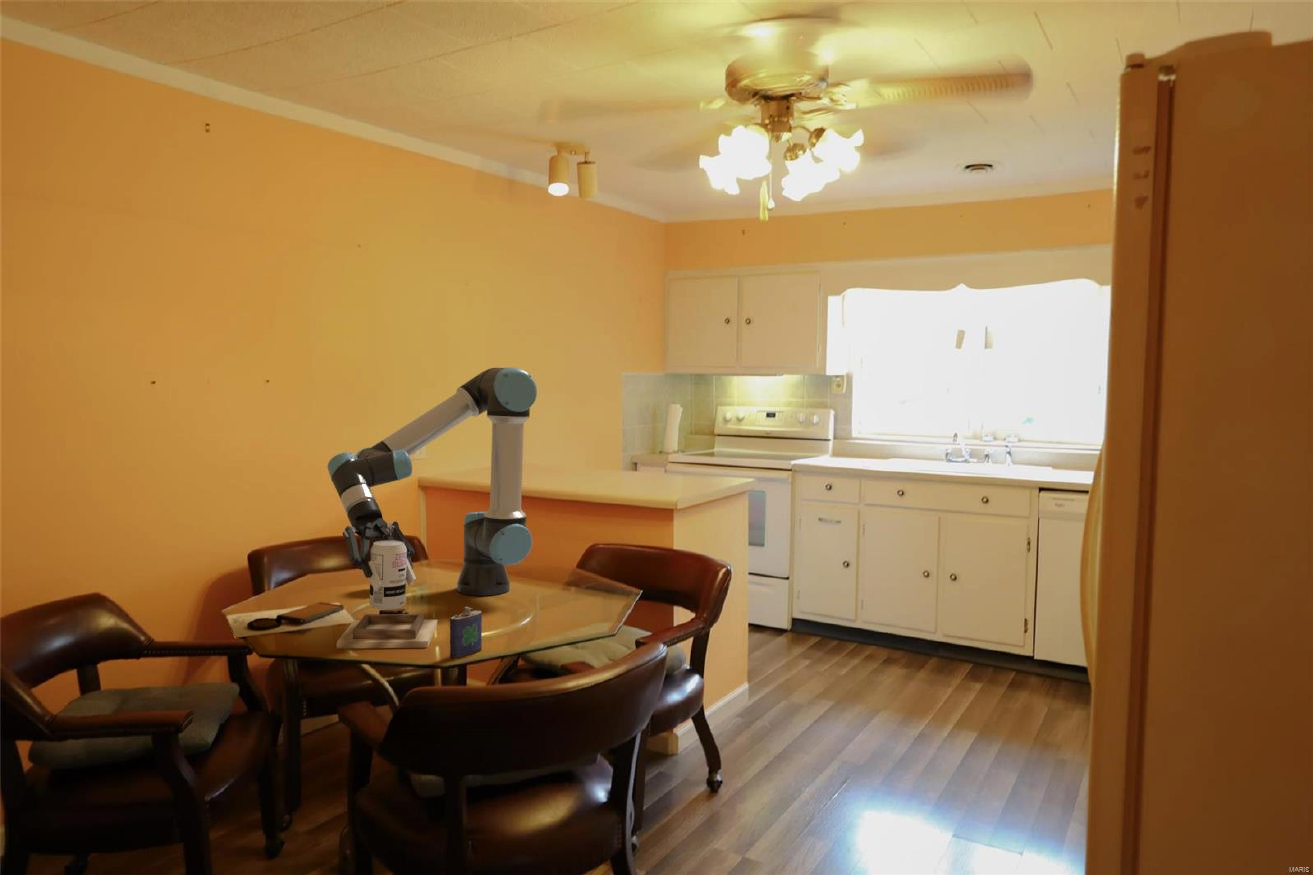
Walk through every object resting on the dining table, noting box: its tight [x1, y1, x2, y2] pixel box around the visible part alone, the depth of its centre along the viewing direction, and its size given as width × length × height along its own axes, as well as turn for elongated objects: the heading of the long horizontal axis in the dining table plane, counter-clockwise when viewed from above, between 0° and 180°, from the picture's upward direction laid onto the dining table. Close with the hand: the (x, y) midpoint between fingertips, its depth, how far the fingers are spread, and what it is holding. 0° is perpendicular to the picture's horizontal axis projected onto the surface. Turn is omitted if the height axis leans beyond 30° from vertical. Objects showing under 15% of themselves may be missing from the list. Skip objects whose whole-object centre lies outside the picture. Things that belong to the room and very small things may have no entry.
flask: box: [449, 606, 483, 660], centre depth 195 cm, size 9×3×11 cm, turn 148°
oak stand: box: [336, 613, 438, 650], centre depth 206 cm, size 20×18×4 cm
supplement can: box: [369, 540, 407, 611], centre depth 205 cm, size 8×8×15 cm
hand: (395, 584), depth 203 cm, fingers closed on supplement can, 8 cm apart
